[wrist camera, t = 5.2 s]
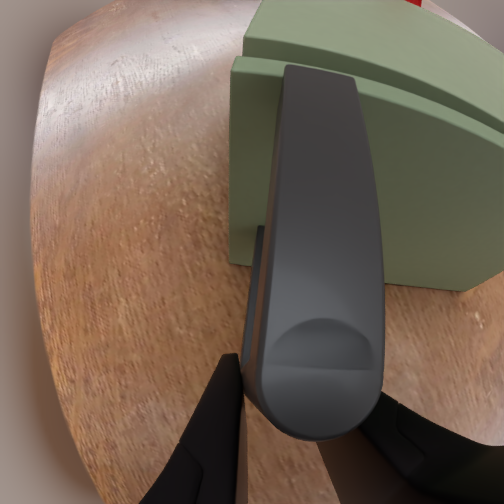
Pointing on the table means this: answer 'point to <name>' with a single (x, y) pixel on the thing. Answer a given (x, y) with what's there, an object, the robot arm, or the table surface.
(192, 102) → the table surface
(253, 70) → the cupboard door
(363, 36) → the cupboard
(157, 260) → the table surface
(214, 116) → the table surface
